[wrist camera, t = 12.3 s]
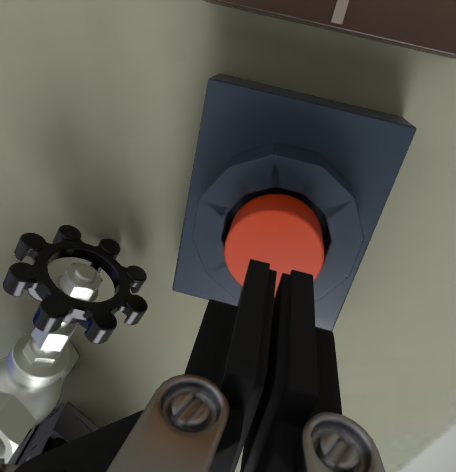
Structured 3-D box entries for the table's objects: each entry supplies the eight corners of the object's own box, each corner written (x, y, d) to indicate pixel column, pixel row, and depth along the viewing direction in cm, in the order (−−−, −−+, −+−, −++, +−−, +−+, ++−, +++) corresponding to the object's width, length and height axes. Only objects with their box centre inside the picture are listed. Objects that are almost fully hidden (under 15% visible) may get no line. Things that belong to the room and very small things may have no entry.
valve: (85, 394, 28) (167, 273, 22) (27, 490, 22) (120, 357, 16) (-3, 344, 27) (60, 206, 21) (-88, 430, 21) (-30, 270, 16)
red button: (241, 182, 15) (235, 198, 14) (334, 205, 15) (338, 224, 14) (223, 261, 17) (215, 284, 16) (306, 283, 17) (307, 308, 15)
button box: (218, 73, 17) (197, 82, 14) (404, 117, 17) (431, 138, 13) (183, 268, 22) (160, 312, 18) (328, 306, 22) (334, 359, 18)
